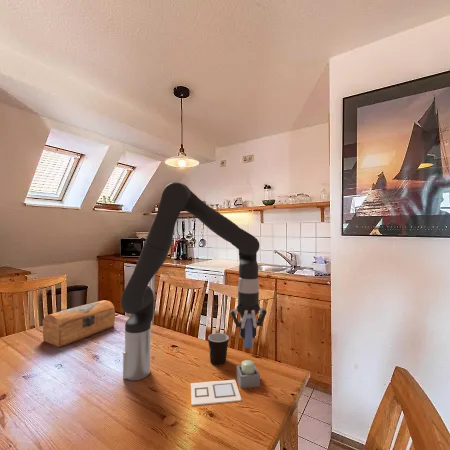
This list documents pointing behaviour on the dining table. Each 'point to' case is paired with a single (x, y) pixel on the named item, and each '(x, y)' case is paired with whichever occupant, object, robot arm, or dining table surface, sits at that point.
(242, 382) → the button housing
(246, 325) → the marker
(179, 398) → the dining table surface
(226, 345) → the coffee mug
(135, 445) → the dining table surface
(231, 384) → the sheet
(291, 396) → the dining table surface
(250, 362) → the button
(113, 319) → the wooden box
